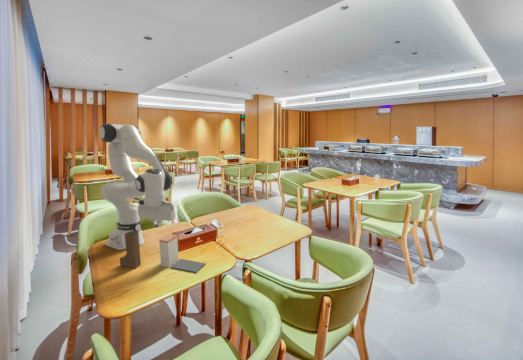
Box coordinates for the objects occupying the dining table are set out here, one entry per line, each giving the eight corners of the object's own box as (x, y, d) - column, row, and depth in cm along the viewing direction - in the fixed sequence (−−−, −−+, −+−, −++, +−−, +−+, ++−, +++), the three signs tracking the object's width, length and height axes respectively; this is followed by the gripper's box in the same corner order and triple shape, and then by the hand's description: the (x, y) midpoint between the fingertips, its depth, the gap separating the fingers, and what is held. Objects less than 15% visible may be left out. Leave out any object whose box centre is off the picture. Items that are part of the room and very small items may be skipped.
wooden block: (120, 266, 139) (116, 232, 136) (126, 262, 144) (123, 229, 140) (135, 268, 137) (132, 234, 133) (141, 264, 141) (138, 231, 138)
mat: (170, 267, 138) (170, 266, 138) (180, 259, 147) (180, 258, 147) (196, 273, 134) (196, 271, 134) (205, 264, 142) (205, 263, 142)
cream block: (160, 265, 141) (159, 239, 138) (170, 258, 148) (169, 234, 145) (169, 267, 139) (167, 241, 136) (178, 259, 147) (177, 235, 144)
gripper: (177, 201, 139) (178, 227, 141) (143, 198, 145) (145, 223, 148) (169, 204, 133) (171, 231, 136) (135, 201, 139) (137, 227, 142)
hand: (157, 227), depth 142 cm, fingers closed
